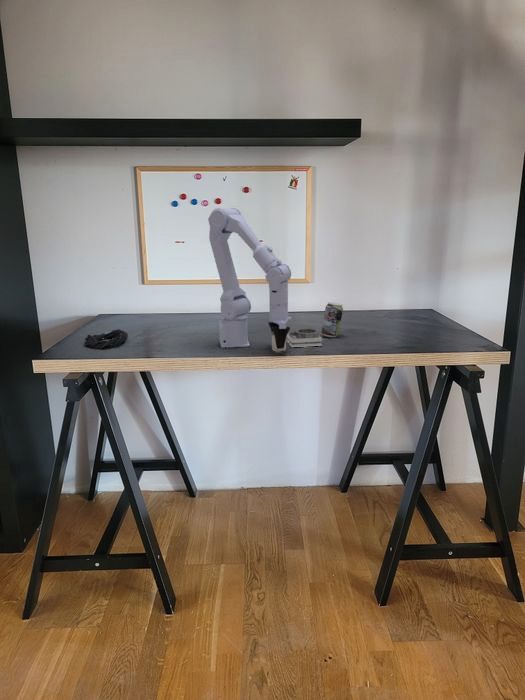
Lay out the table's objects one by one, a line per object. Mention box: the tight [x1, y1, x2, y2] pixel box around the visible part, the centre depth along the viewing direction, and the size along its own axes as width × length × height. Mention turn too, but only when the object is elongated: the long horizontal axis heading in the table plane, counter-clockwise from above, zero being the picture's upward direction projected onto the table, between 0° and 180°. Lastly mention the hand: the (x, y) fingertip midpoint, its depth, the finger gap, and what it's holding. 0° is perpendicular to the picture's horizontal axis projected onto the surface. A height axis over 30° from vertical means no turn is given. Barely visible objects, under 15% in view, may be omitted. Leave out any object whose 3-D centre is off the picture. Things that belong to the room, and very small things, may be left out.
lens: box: [271, 331, 287, 352], centre depth 163 cm, size 5×5×6 cm
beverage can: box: [321, 301, 344, 338], centre depth 180 cm, size 6×7×12 cm
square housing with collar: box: [286, 327, 323, 348], centre depth 170 cm, size 10×8×4 cm
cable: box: [84, 328, 129, 350], centre depth 175 cm, size 17×14×4 cm
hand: (278, 346), depth 164 cm, fingers open, 5 cm apart
